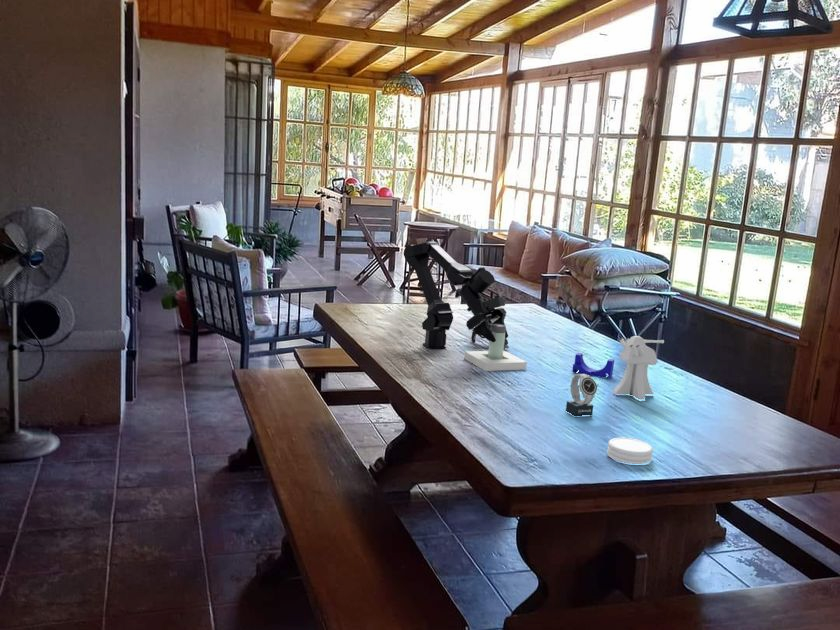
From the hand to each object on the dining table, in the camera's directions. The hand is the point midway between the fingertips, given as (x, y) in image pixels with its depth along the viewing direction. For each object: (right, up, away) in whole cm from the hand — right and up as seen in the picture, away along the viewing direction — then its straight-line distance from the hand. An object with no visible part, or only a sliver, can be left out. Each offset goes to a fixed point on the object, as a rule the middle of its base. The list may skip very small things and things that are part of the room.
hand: (501, 339), depth 251 cm
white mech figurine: (+38, -16, -21) cm, 46 cm away
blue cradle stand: (+29, -12, -1) cm, 32 cm away
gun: (-1, -4, +28) cm, 28 cm away
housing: (-2, -8, +2) cm, 9 cm away
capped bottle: (-2, -8, +2) cm, 9 cm away
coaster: (+22, -25, -74) cm, 81 cm away
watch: (+16, -19, -44) cm, 51 cm away
